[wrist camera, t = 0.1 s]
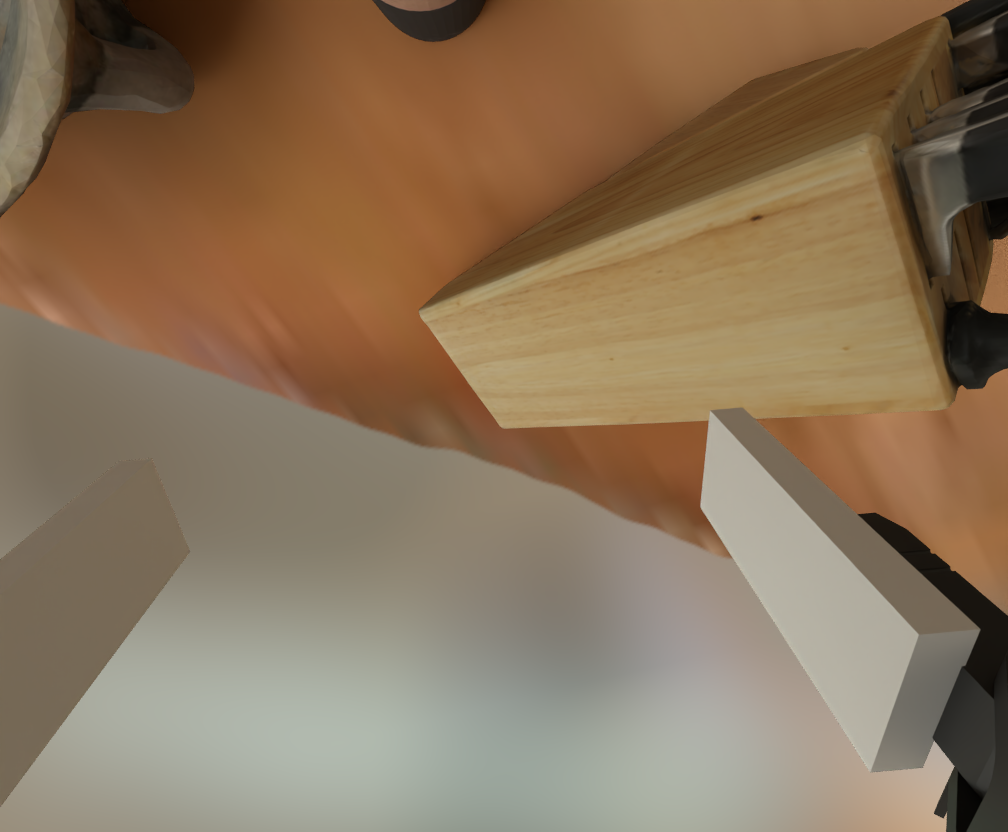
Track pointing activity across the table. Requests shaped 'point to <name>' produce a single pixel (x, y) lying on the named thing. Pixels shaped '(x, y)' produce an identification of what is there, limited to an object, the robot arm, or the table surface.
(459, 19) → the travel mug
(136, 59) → the bowl
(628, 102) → the table surface
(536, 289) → the knife block
